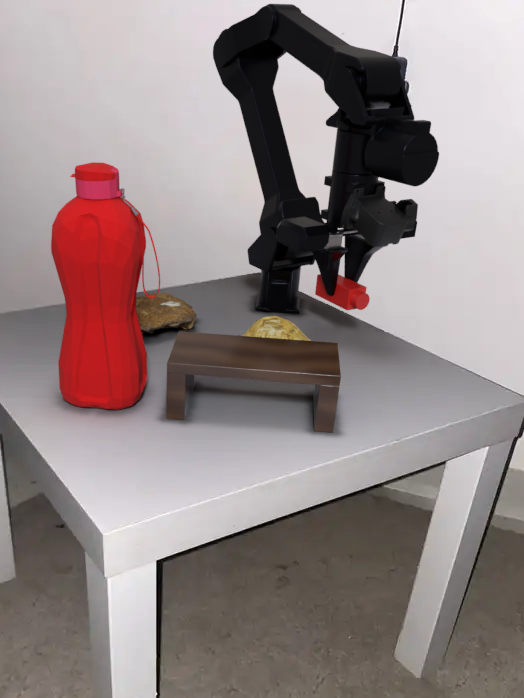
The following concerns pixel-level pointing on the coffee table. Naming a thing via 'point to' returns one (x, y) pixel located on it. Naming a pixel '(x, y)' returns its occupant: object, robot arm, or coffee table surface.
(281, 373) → the shelf
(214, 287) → the coffee table surface
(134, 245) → the water bottle
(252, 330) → the fossil
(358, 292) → the red square bottle
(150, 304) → the decorative rock
